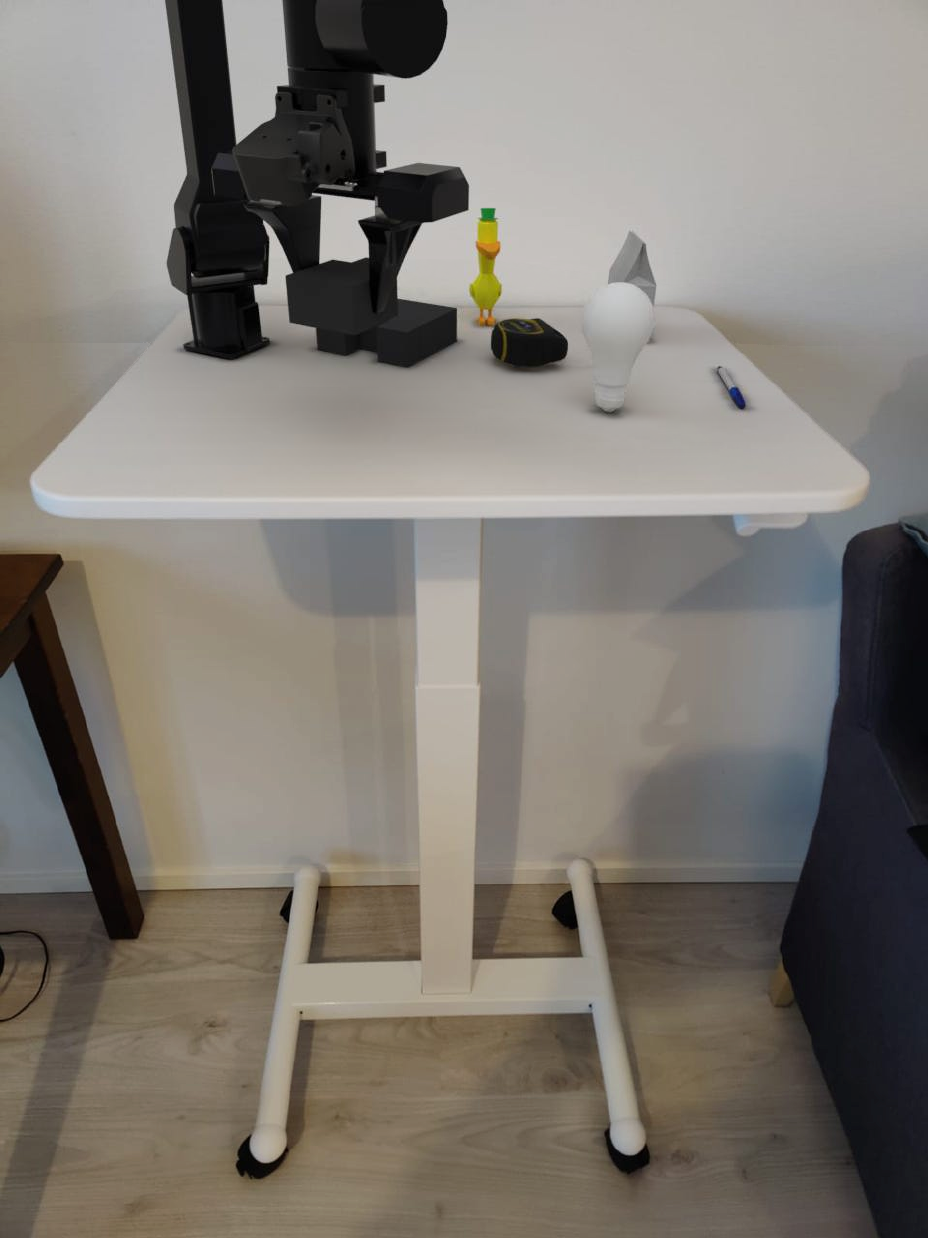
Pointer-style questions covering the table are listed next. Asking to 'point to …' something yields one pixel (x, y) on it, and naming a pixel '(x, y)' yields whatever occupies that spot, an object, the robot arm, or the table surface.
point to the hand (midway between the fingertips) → (343, 305)
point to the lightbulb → (616, 337)
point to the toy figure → (486, 266)
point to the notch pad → (399, 334)
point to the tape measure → (527, 342)
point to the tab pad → (336, 297)
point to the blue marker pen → (732, 388)
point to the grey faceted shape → (634, 267)
